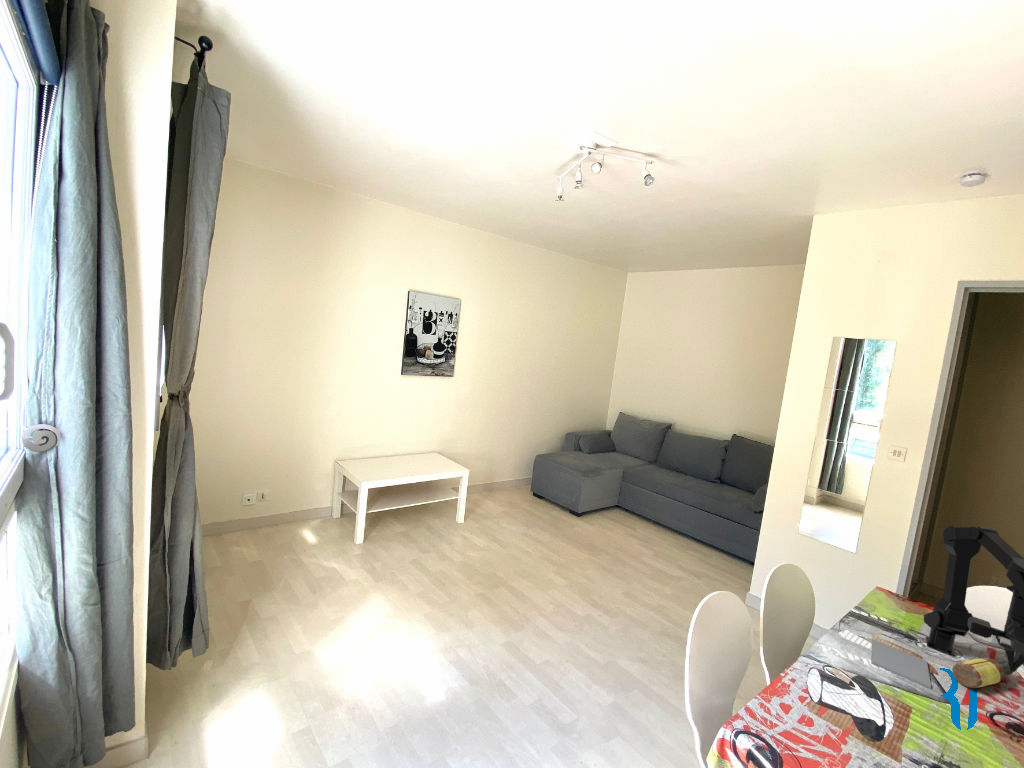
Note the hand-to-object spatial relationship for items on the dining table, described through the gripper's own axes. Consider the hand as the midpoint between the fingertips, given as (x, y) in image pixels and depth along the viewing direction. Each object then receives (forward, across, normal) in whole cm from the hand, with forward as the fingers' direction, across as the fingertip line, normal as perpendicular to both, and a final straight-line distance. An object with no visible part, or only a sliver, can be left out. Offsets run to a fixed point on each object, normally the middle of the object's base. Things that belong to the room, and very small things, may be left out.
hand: (1011, 670), depth 120 cm
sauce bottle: (+7, -8, +1) cm, 11 cm away
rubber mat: (+10, -22, -1) cm, 24 cm away
